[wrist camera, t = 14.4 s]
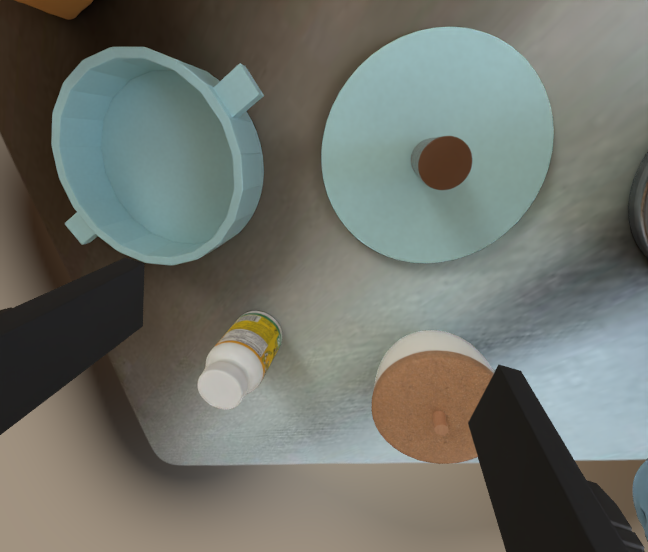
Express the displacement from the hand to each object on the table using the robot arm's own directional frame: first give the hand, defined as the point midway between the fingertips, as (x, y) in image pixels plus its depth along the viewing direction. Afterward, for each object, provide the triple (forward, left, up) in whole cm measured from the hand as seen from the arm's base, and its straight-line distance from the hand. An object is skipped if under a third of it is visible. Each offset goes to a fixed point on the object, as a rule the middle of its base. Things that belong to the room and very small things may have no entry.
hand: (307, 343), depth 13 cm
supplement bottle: (-4, +15, -21) cm, 26 cm away
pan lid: (+2, -8, -20) cm, 21 cm away
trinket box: (-15, +1, -21) cm, 26 cm away
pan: (+14, +11, -20) cm, 27 cm away
